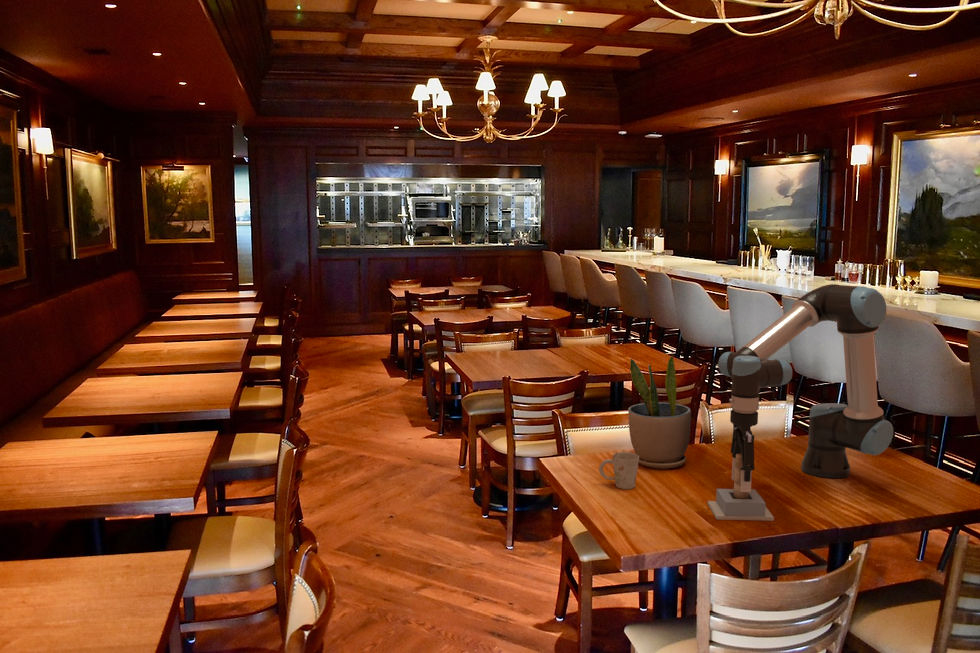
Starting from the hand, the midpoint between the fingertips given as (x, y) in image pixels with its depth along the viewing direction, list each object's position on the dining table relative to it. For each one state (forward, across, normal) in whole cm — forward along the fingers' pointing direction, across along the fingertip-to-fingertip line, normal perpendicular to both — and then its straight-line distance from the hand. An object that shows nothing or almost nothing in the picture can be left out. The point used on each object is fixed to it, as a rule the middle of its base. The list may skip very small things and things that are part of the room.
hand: (741, 485), depth 230 cm
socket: (+8, 0, 0) cm, 8 cm away
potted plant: (+8, -46, -17) cm, 49 cm away
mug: (+8, -21, -33) cm, 40 cm away
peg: (+7, 0, 0) cm, 7 cm away
